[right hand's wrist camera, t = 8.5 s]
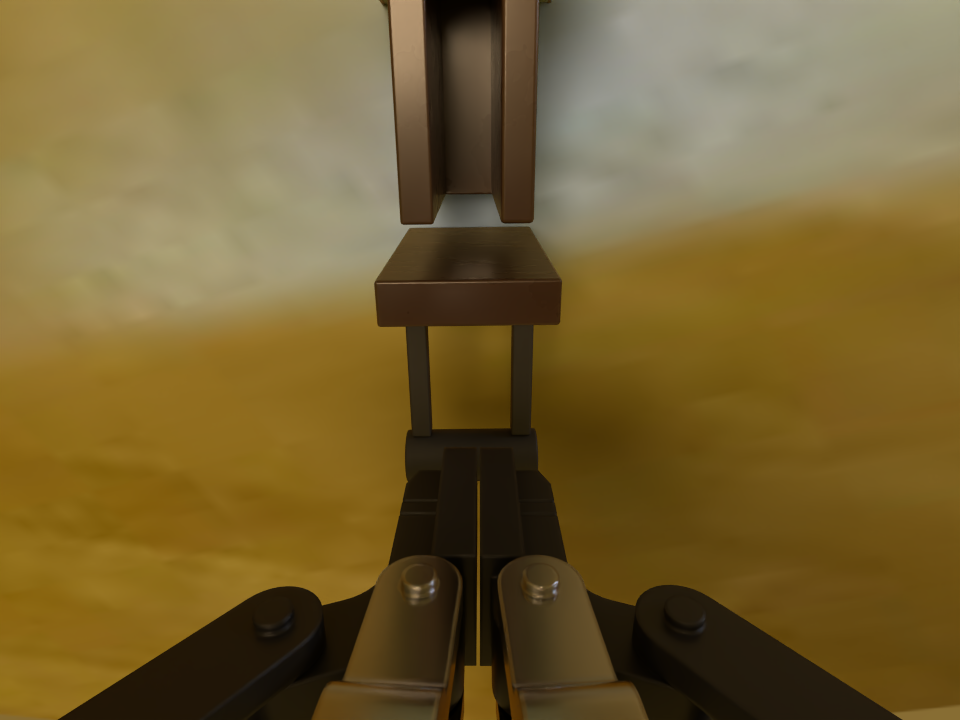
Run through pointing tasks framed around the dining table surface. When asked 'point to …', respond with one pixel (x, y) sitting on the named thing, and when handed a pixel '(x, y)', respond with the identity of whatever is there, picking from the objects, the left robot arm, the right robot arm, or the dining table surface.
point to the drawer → (466, 170)
